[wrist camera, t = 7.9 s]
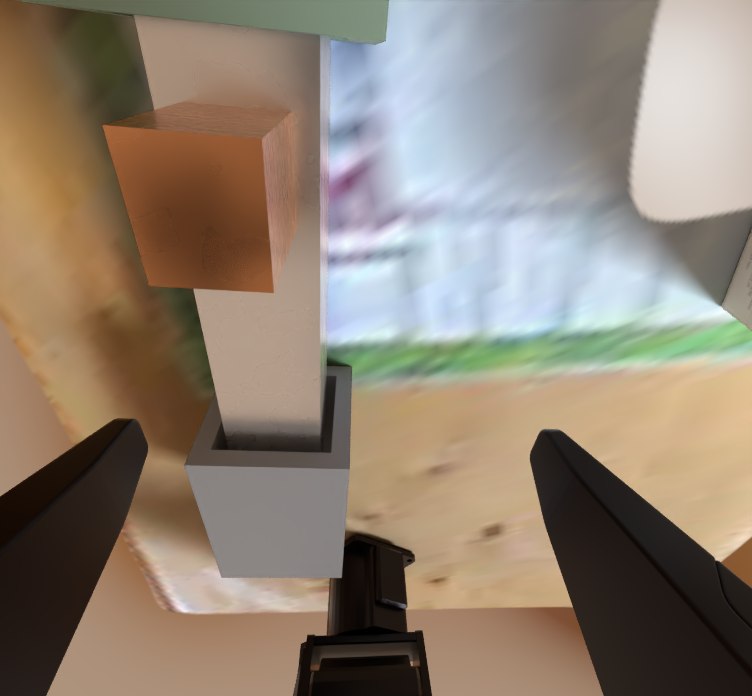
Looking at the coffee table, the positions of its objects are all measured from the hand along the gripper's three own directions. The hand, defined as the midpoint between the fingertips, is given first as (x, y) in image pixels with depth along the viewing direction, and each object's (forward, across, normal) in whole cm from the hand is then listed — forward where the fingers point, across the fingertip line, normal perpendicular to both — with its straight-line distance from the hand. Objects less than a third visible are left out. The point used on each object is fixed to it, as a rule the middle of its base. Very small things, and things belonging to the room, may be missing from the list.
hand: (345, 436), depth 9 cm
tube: (+9, +3, 0) cm, 10 cm away
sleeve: (+11, +3, +12) cm, 16 cm away
